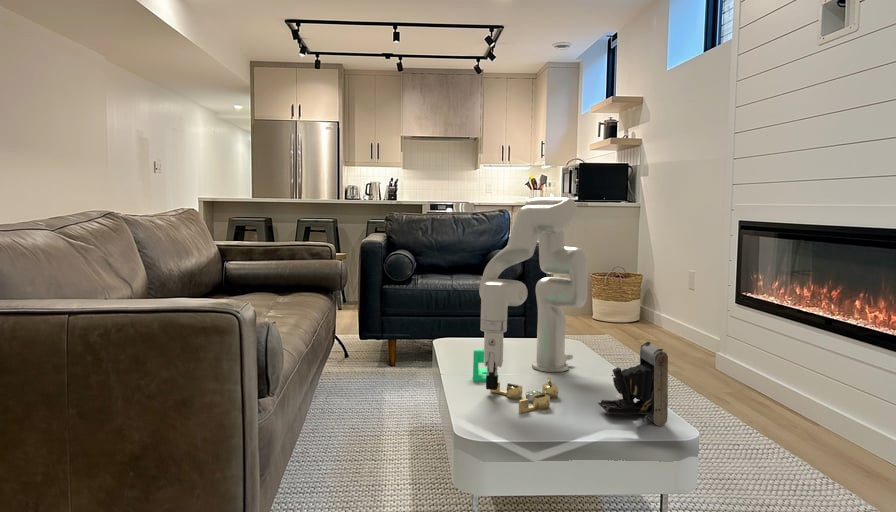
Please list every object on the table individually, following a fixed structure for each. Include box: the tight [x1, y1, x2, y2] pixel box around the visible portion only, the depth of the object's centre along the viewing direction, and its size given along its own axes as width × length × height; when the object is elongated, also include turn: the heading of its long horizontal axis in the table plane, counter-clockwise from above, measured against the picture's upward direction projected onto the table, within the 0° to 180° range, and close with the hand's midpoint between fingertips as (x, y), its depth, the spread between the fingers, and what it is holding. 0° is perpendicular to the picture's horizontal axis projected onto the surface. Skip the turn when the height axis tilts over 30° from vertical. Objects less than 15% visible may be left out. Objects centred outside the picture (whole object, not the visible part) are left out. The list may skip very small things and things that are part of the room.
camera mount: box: [472, 348, 487, 383], centre depth 184 cm, size 12×8×10 cm, turn 176°
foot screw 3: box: [541, 377, 559, 400], centre depth 168 cm, size 10×4×4 cm, turn 172°
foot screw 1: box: [489, 381, 523, 400], centre depth 166 cm, size 10×4×4 cm, turn 51°
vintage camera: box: [597, 341, 669, 427], centre depth 150 cm, size 10×15×20 cm, turn 95°
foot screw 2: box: [518, 394, 551, 414], centre depth 154 cm, size 10×4×4 cm, turn 127°
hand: (491, 388), depth 166 cm, fingers closed
